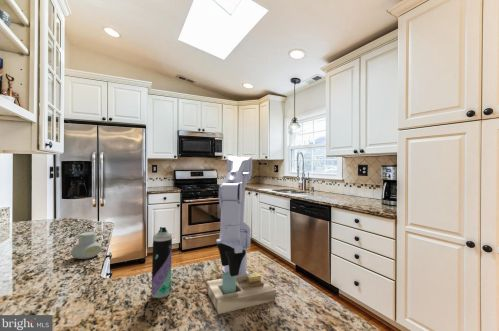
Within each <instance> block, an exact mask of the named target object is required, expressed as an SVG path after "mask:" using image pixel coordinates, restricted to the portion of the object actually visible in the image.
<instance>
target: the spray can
mask: <svg viewBox="0 0 499 331" xmlns="http://www.w3.org/2000/svg"><path fill="white" fill-rule="evenodd" d="M172 235H173V233H170V232H169V230H167V227H163V226H160V227H159V230H158V231H157V233H155V234H153V236H152V257H151V258H152V262H151V297H152V298H155V299H161V298H166V297H168V296H169V295H171V292H172V259H173V258H172V253H173V252H172V251H173V247H172V246H173V244H172V243H173V236H172Z"/></svg>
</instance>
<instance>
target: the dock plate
mask: <svg viewBox="0 0 499 331" xmlns="http://www.w3.org/2000/svg"><path fill="white" fill-rule="evenodd" d="M252 273H253V272H249V274H252ZM254 273H257V272H256V271H255V272H254ZM246 275H247V274H244V275H238V276H236V292H234V293H230V294H225V295H223V294H222V278H218V279H212V280H208V281H206V293H207V295H208V296H209V299H210V300H211V302H212V304H213V306H214V309H215V310H216V312H217V314H218V315H221V314H225V313H229V312H233V311H237V310H242V309H245V308H246V309H247V308H249V307H254V306H258V305H262V304H266V303H271V302H275V301H276V289H275V288H274V287H273V286H272V285H270V283H268V282H267V281H266V280H265V279H264V278H263V277H262V276H261V282H258V283H253V284H248V285H247V284H246Z"/></svg>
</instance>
